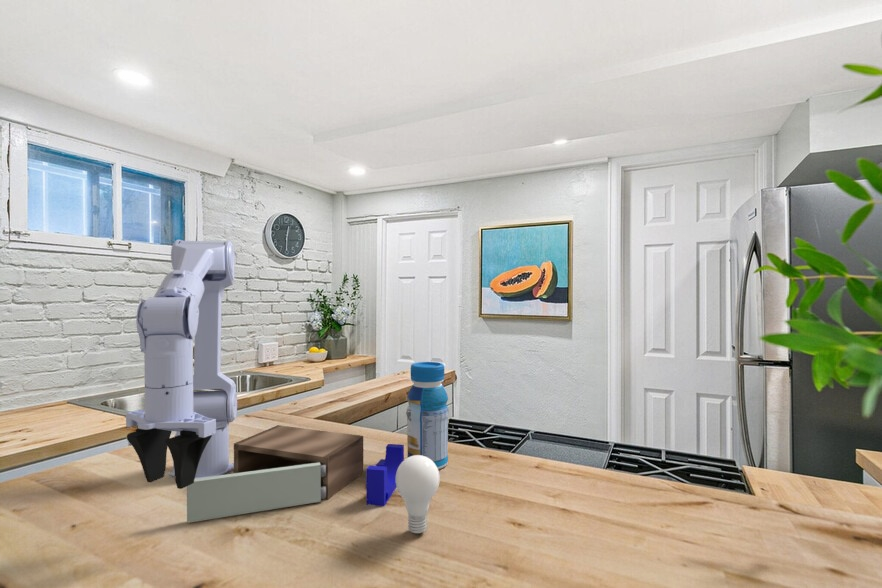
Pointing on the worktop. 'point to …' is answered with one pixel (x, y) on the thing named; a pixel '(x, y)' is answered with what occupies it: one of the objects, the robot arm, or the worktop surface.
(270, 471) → the cabinet door
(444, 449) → the beverage bottle
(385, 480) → the cable clip
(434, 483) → the lightbulb
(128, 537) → the worktop surface
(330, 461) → the cabinet
